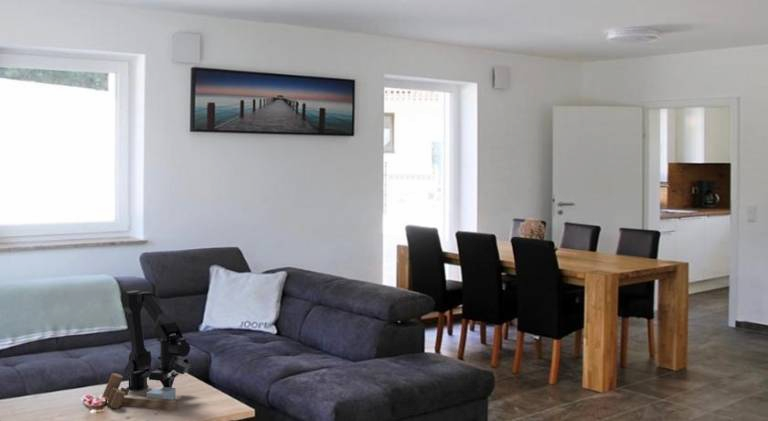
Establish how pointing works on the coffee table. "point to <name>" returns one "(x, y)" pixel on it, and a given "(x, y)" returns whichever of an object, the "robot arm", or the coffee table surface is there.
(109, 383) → the wooden block set
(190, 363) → the robot arm
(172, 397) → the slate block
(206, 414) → the coffee table surface
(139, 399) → the brown wooden bar
